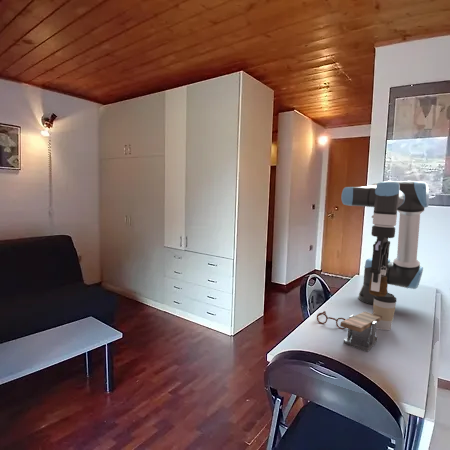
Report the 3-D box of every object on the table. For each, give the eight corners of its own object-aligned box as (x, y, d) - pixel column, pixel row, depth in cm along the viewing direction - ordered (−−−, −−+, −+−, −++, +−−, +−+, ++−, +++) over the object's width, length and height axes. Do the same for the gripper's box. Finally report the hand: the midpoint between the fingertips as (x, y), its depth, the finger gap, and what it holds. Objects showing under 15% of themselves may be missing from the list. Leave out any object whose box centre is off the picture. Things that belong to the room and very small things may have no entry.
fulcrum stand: (353, 333, 135) (355, 311, 134) (377, 341, 129) (380, 318, 128) (342, 343, 126) (344, 319, 125) (368, 352, 120) (370, 327, 119)
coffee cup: (396, 332, 138) (400, 298, 136) (373, 329, 139) (376, 295, 138) (390, 323, 146) (393, 291, 145) (368, 321, 148) (371, 289, 146)
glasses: (315, 323, 145) (316, 312, 144) (324, 314, 156) (325, 304, 155) (346, 331, 138) (347, 320, 137) (353, 321, 149) (354, 310, 148)
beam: (364, 314, 140) (364, 311, 139) (381, 319, 135) (382, 315, 135) (340, 326, 118) (340, 321, 118) (360, 332, 114) (360, 327, 113)
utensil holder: (376, 297, 116) (379, 264, 114) (364, 291, 122) (367, 260, 120) (390, 296, 117) (393, 263, 116) (378, 291, 123) (381, 259, 122)
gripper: (379, 223, 126) (373, 281, 129) (364, 226, 112) (358, 292, 114) (401, 225, 121) (394, 285, 124) (388, 228, 107) (381, 297, 110)
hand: (377, 288), depth 119 cm, fingers closed on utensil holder, 6 cm apart
